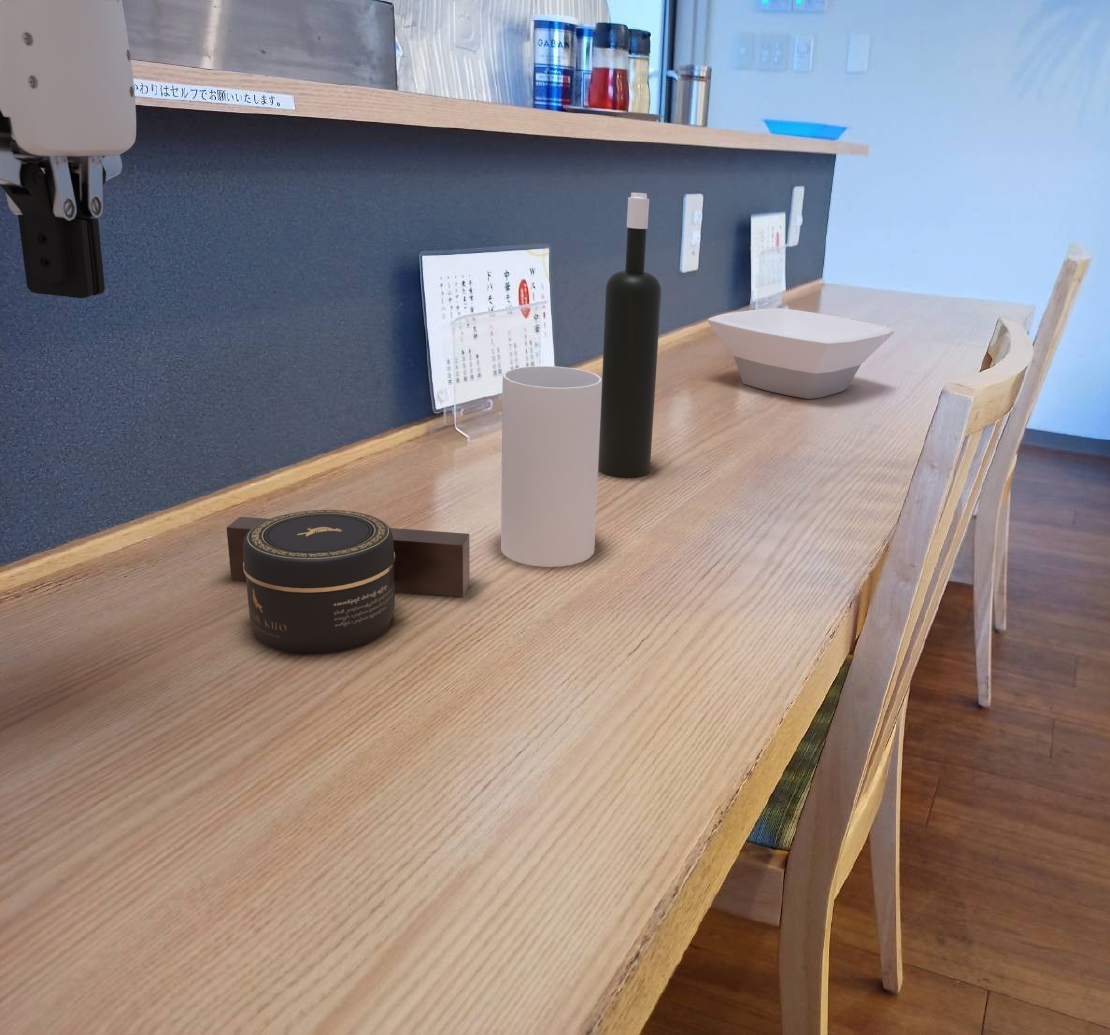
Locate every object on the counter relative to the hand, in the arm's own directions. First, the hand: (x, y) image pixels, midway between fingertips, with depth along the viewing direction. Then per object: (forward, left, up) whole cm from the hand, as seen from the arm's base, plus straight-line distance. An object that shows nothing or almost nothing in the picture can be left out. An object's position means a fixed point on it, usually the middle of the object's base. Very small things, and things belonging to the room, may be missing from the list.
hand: (67, 292), depth 53 cm
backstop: (+8, +17, -25) cm, 31 cm away
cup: (+22, +27, -25) cm, 43 cm away
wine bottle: (+27, +51, -25) cm, 63 cm away
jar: (+9, +10, -25) cm, 28 cm away
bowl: (+51, +103, -25) cm, 118 cm away
